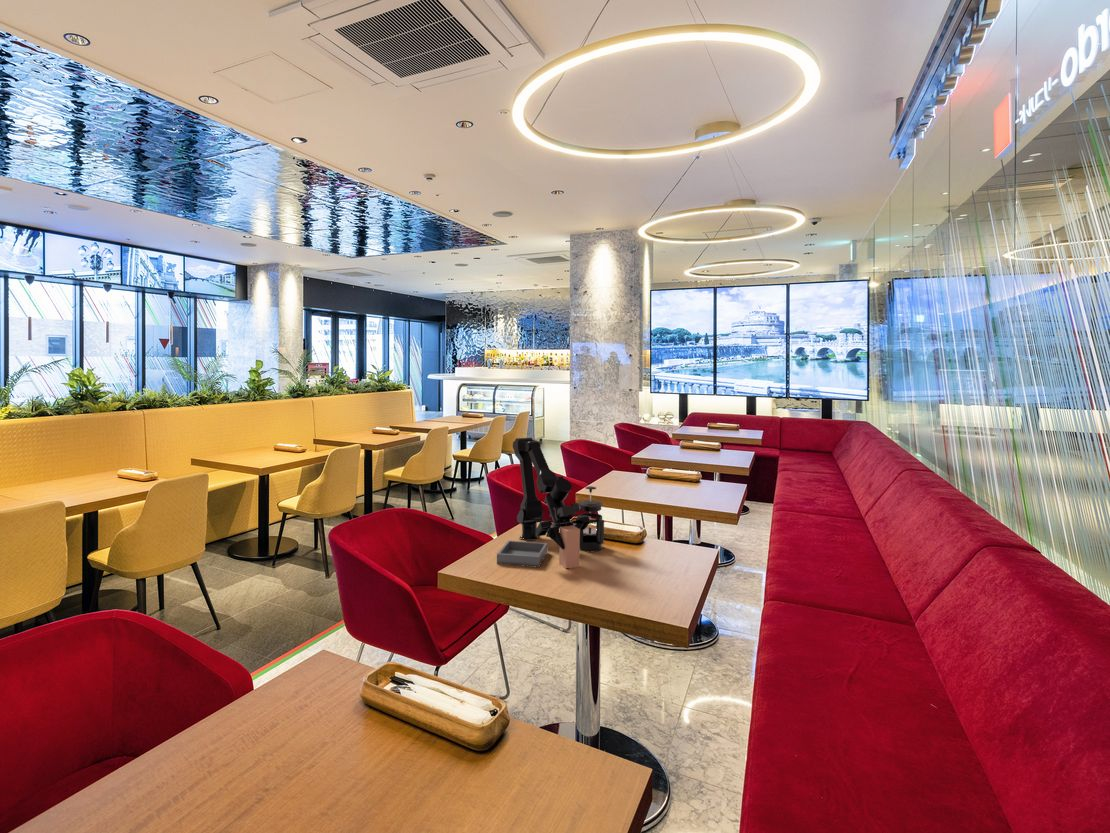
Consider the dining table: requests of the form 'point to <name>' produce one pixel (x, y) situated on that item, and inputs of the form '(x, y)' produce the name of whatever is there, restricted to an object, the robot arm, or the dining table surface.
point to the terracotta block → (569, 546)
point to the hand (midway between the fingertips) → (571, 547)
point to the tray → (522, 553)
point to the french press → (588, 535)
